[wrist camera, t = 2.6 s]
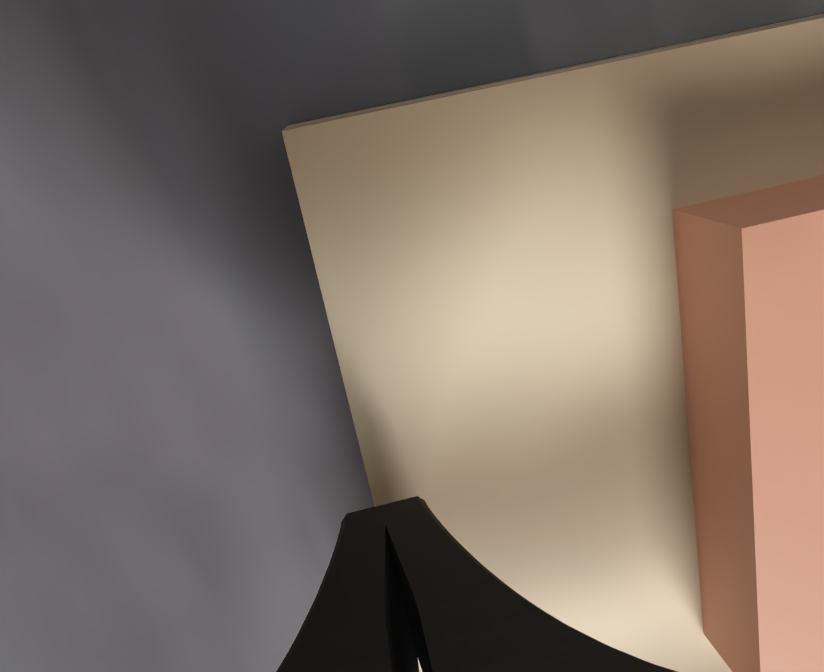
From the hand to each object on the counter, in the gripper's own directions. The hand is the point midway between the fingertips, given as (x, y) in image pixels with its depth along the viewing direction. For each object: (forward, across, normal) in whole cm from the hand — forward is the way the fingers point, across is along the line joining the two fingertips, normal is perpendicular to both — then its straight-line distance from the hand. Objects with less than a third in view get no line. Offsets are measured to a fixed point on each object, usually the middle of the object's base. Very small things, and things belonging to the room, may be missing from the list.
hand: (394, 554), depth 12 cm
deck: (+5, -8, 0) cm, 9 cm away
